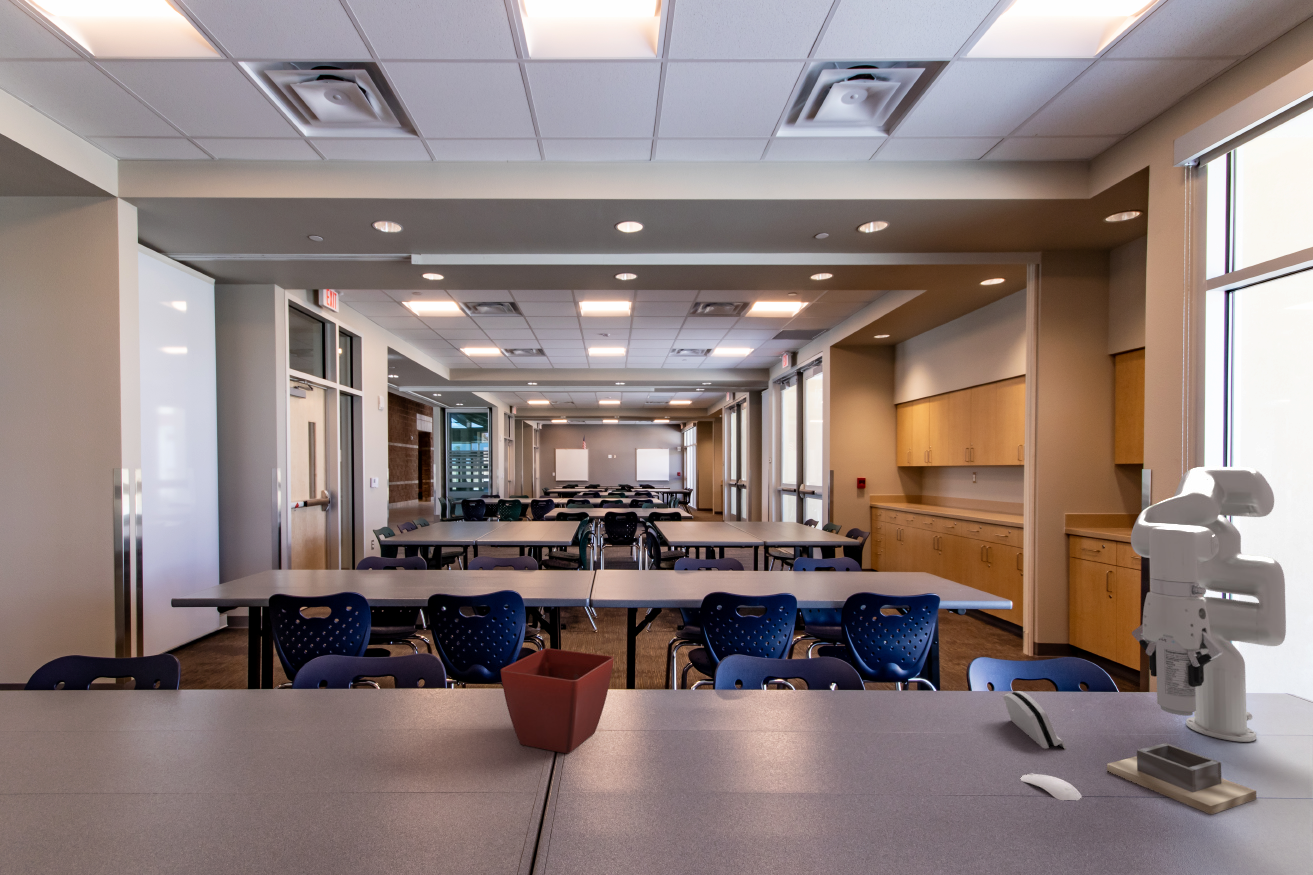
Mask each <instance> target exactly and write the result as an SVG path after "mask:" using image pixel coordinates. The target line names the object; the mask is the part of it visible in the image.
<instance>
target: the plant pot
mask: <svg viewBox="0 0 1313 875" xmlns="http://www.w3.org/2000/svg"><path fill="white" fill-rule="evenodd" d="M613 667H614V656H611V655H603V654H596V653H590V652H589V653H588V652H582V651H581V652H580V651H571V650H564V649H556V648H543V649H540V650H537V651H535V652H534V653H532V654H529V655H527V656H525V657H522V658H521V659H518V660H517V661H514V662H512V663H510V664H509V665H506V666H505V667H502V668H501V669H500V676H501V677H500V678H501V682H502V689H503V694H504V699H505V703H506V707H507V710H508V713H509V717H510V720H511V724H512V725H513V726H512V727H513V730H514V732H515V734H516V735H515V736H516V737H517V741H518V742H519V744H520V745H521V746H526V747H531V748H535V749H542V750H546V751H553V752H558V753H562V754H570V753H572V752H573V751H574V750H575V749H576V748H578V747H579V746H581V745H583V743H584V742H586V740H588V739H589V738H591V736H593V735H595V733H596V731H597V728H598V725H599V722H600V720H601V717H602V713H603V711H604V708H605V704H606V701H607V700H606V699H607V695H608V692H609V687H610V683H611V677H612V672H613Z"/></svg>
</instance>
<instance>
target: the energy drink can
mask: <svg viewBox="0 0 1313 875" xmlns="http://www.w3.org/2000/svg"><path fill="white" fill-rule="evenodd" d="M1189 665H1191V661H1190V659H1189V656H1188V654H1187V650H1185V649H1183V648H1182V646H1181V645H1180V644H1179V643H1178V642H1177V641H1176V640H1174V639H1173V636H1169V635H1164V634H1163V637H1161V638H1159V639H1158V640H1157V641H1156V671H1157V676H1156V702H1157V704H1158V705H1159V707H1160V709H1161V710H1162V711H1164V712H1167V713H1169V714H1173V715H1178V716H1194V711H1196V687H1191V686H1190V685H1189V674H1188V666H1189Z"/></svg>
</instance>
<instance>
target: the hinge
mask: <svg viewBox="0 0 1313 875" xmlns="http://www.w3.org/2000/svg"><path fill="white" fill-rule="evenodd" d="M1002 697H1003V701H1004V704H1005V706H1006V710H1007V713H1008V717H1009V718H1010V720H1011V722H1013V724H1015V725H1016V726H1017V727H1018V728H1019V729H1020V730H1022V731H1023V732H1024V733H1025V734H1026V735H1027V736H1028V735H1029V736H1028V737H1030V739H1031V740H1033V741H1034V742H1035V741H1036V742H1035V743H1036V744H1038V745H1039V746H1040V747H1041V748H1042V749H1050V747H1049V746H1052V745H1053V746H1054V747H1057V746H1058V745H1059V747H1060V748H1062V747H1063V748H1064V749H1063V750H1067V747H1066V744H1065V742H1064V740H1062V739H1061V738H1060V737H1059V736H1058V735H1057V734H1056V732H1055V730H1054V728H1053V725H1052V723H1051V721H1050V718H1049V716H1048V714H1047V712H1046V711H1045V710H1044V708H1042V706H1041V705H1040V704H1039V703H1038V702H1037V701H1036V700H1035V699H1034V698H1033V697H1031V695H1029V694H1028V693H1026V692H1023V691H1020V690H1016V691H1012V693H1010V692H1009V693H1006V694H1004V695H1003V696H1002Z"/></svg>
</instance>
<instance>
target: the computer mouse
mask: <svg viewBox="0 0 1313 875" xmlns="http://www.w3.org/2000/svg"><path fill="white" fill-rule="evenodd" d="M1026 774H1027V775H1026ZM1026 774H1023V775H1021V776H1022V777H1021V776H1020V777H1021V778H1020V777H1019V779H1021V780H1020V781H1021V782H1024V783H1028V784H1031V785H1034V786H1036V787H1040V788H1041V789H1043V790H1044V791H1045V792H1048V793H1049V794H1050V795H1051V796H1052V797H1054V798H1055V799H1056V800H1060V801H1064V800H1076V801H1079V800H1081V799H1082V798H1083V797H1082V794H1081V793H1080V791H1078V789H1077V788H1076V787H1075V786H1074V785H1072V784H1071V783H1070V782H1068V781H1066V780H1063V779H1061V778H1059V777H1055V776H1051V775H1047V774H1037V773H1033V772H1030V773H1026ZM1080 798H1081V799H1080Z"/></svg>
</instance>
